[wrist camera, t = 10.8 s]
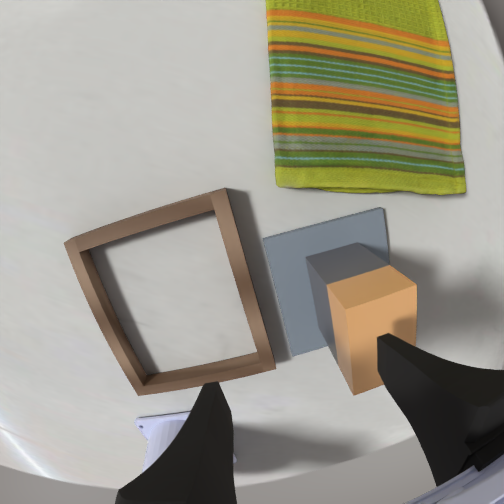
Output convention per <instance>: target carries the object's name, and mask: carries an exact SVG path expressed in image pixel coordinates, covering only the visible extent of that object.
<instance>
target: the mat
mask: <svg viewBox="0 0 504 504" xmlns="http://www.w3.org/2000/svg"><path fill="white" fill-rule="evenodd" d="M263 242H264V246H265V249H266V253H267V257H268V261H269V265H270V269H271V273H272V277H273V281H274V285H275V289H276V293H277V297H278V301H279V305H280V309H281V313H282V317H283V321H284V325H285V329H286V333H287V337H288V341H289V345H290V349H291V353H292V356H296V355H300V354H303V353H306V352H310V351H313V350H316V349H320V348H323V347H326V346H328V345H327V343H326V341H325V339H324V337H323V335H322V333H321V331H320V329H319V327H318V322H317V316H316V311H315V305H314V300H313V295H312V289H311V284H310V279H309V274H308V269H307V264H306V259H305V257H306V256H310V255H314V254H317V253H321V252H324V251H328V250H332V249H335V248H339V247H342V246H346V245H349V244H353V243H356V242H357V243H359V244H360V245H362V246H363V247H365V248H366V249H368V250H369V251H370V252H372V253H373V254H375V255H376V256H378V257H379V258H380V259H382V260H383V261H385V262H386V263H388V264H389V255H388V245H387V236H386V228H385V220H384V213H383V208H381V207H379V208H375V209H371V210H367V211H363V212H359V213H356V214H352V215H348V216H344V217H340V218H337V219H333V220H329V221H325V222H321V223H318V224H314V225H310V226H306V227H303V228H299V229H295V230H291V231H288V232H284V233H280V234H277V235H273V236H269V237H265V238H263Z"/></svg>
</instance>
